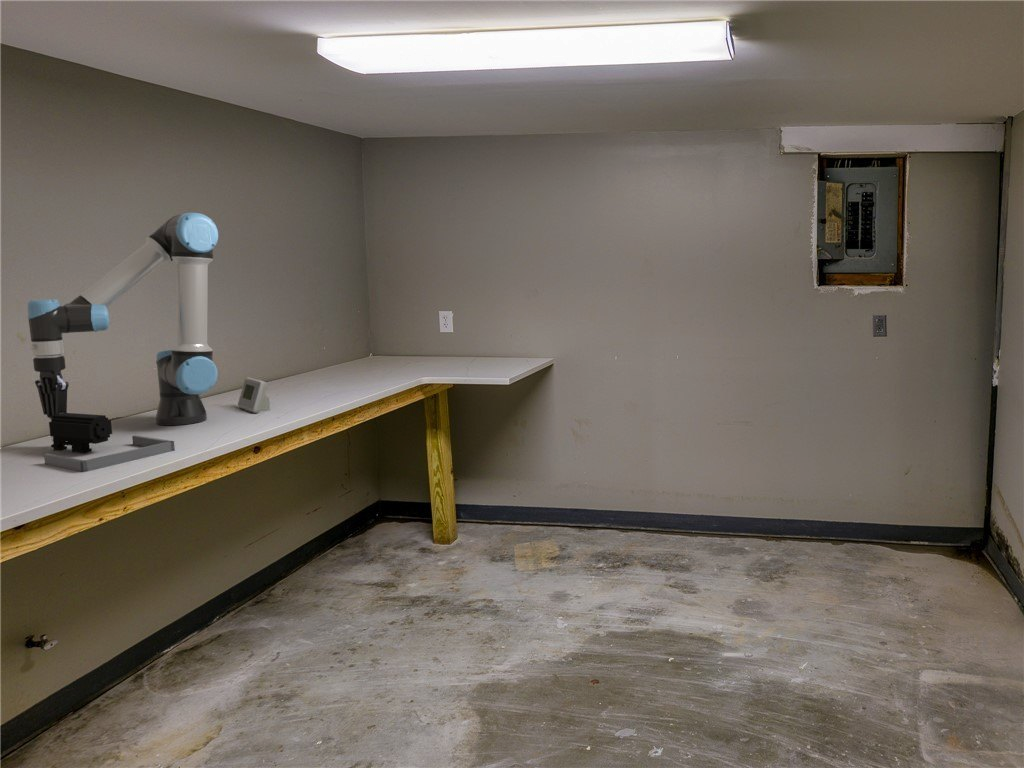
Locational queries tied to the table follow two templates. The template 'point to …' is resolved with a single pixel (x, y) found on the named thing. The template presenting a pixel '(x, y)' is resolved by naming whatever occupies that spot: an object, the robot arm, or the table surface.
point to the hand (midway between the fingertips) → (57, 440)
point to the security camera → (79, 431)
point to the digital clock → (254, 396)
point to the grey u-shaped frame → (114, 455)
